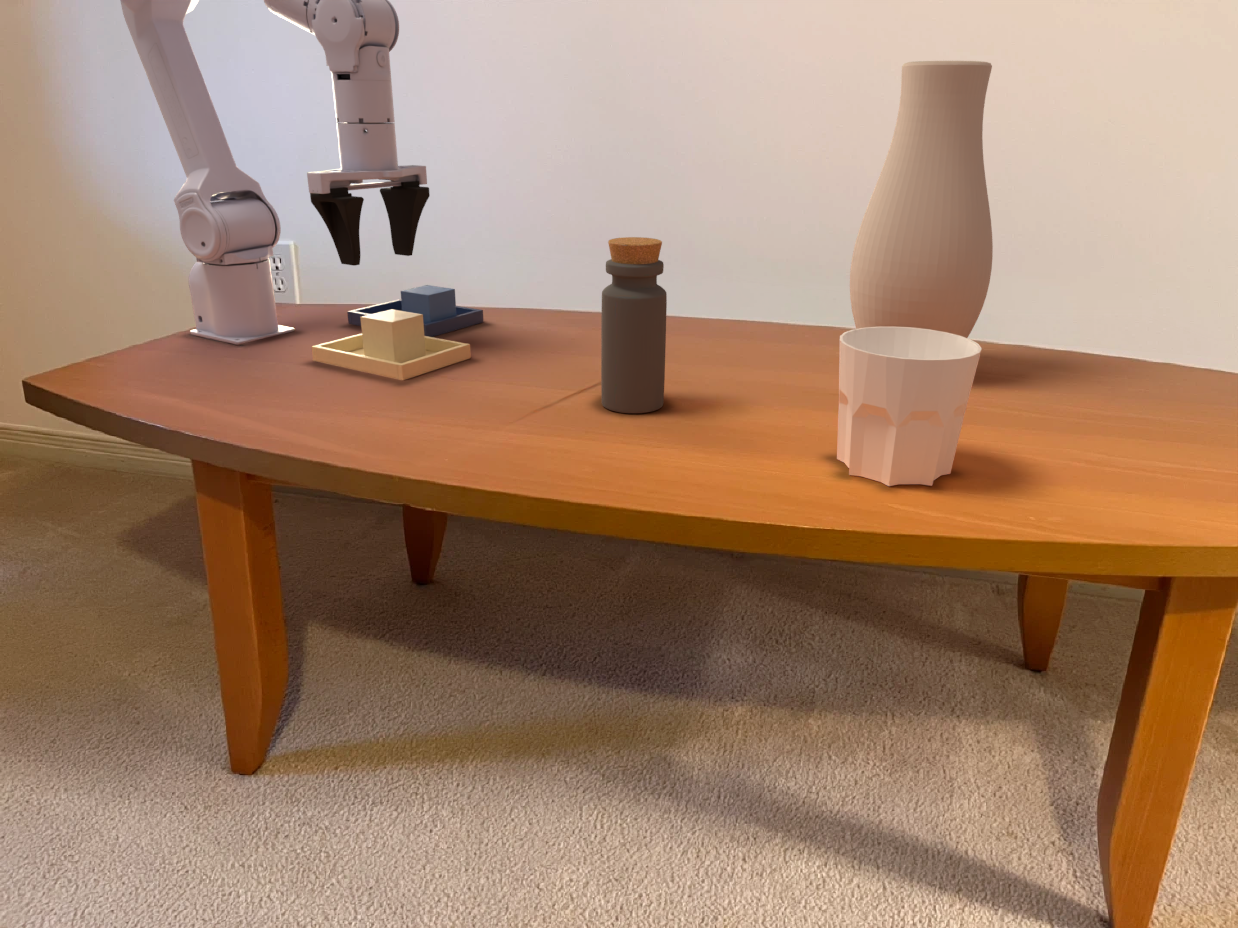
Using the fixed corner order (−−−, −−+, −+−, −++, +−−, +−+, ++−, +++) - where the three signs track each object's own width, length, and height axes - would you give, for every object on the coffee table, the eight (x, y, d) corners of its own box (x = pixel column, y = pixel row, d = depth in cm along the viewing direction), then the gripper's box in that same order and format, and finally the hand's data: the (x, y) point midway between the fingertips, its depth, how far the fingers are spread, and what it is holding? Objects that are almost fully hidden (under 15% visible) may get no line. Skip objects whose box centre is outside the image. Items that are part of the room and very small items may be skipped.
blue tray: (348, 326, 112) (347, 311, 111) (407, 311, 120) (406, 297, 119) (427, 341, 105) (426, 325, 104) (483, 324, 113) (483, 309, 112)
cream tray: (313, 363, 96) (311, 346, 95) (383, 343, 104) (382, 327, 103) (403, 383, 89) (401, 365, 89) (471, 361, 97) (470, 343, 97)
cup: (848, 492, 65) (863, 360, 61) (813, 444, 74) (824, 326, 71) (982, 491, 66) (1005, 359, 62) (931, 443, 75) (948, 326, 71)
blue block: (403, 328, 109) (400, 290, 108) (429, 321, 113) (427, 284, 111) (431, 333, 107) (428, 295, 105) (457, 326, 111) (455, 288, 109)
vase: (995, 387, 90) (1052, 59, 79) (859, 386, 90) (897, 58, 79) (946, 352, 103) (989, 66, 92) (827, 351, 103) (855, 64, 91)
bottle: (671, 398, 86) (676, 237, 80) (653, 417, 80) (657, 246, 75) (613, 392, 87) (614, 234, 82) (592, 409, 82) (591, 242, 77)
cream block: (364, 359, 96) (360, 316, 94) (395, 350, 100) (391, 309, 98) (395, 365, 94) (391, 322, 92) (426, 356, 97) (423, 314, 96)
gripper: (337, 124, 83) (352, 272, 88) (444, 122, 94) (452, 254, 99) (286, 123, 86) (303, 265, 91) (396, 121, 98) (405, 248, 103)
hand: (377, 259), depth 96 cm, fingers open, 7 cm apart
